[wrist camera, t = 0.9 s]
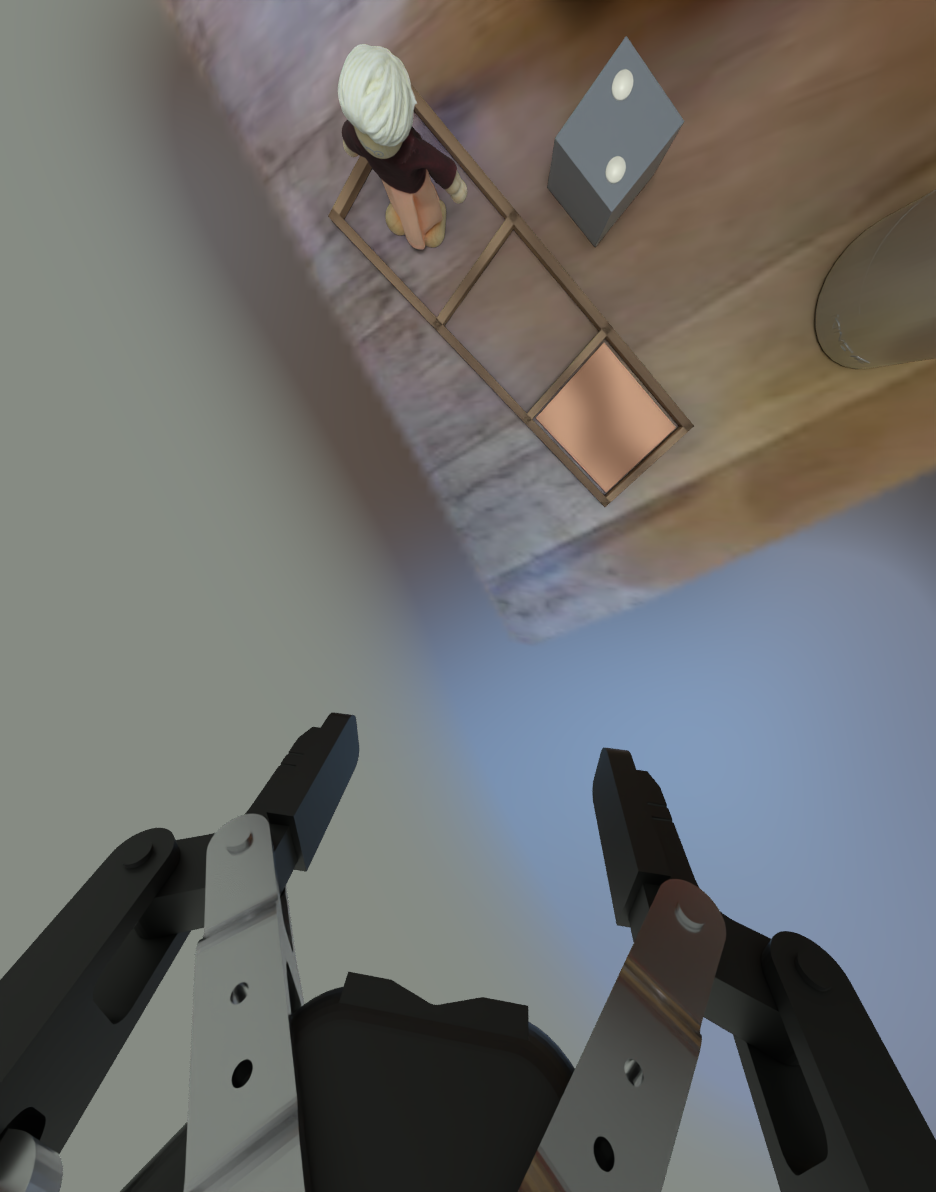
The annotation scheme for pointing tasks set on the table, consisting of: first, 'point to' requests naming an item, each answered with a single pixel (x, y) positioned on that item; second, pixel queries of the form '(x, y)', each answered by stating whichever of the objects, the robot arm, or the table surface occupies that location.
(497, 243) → the board
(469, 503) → the table surface
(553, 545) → the table surface
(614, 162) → the die
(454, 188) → the grandmother figurine
